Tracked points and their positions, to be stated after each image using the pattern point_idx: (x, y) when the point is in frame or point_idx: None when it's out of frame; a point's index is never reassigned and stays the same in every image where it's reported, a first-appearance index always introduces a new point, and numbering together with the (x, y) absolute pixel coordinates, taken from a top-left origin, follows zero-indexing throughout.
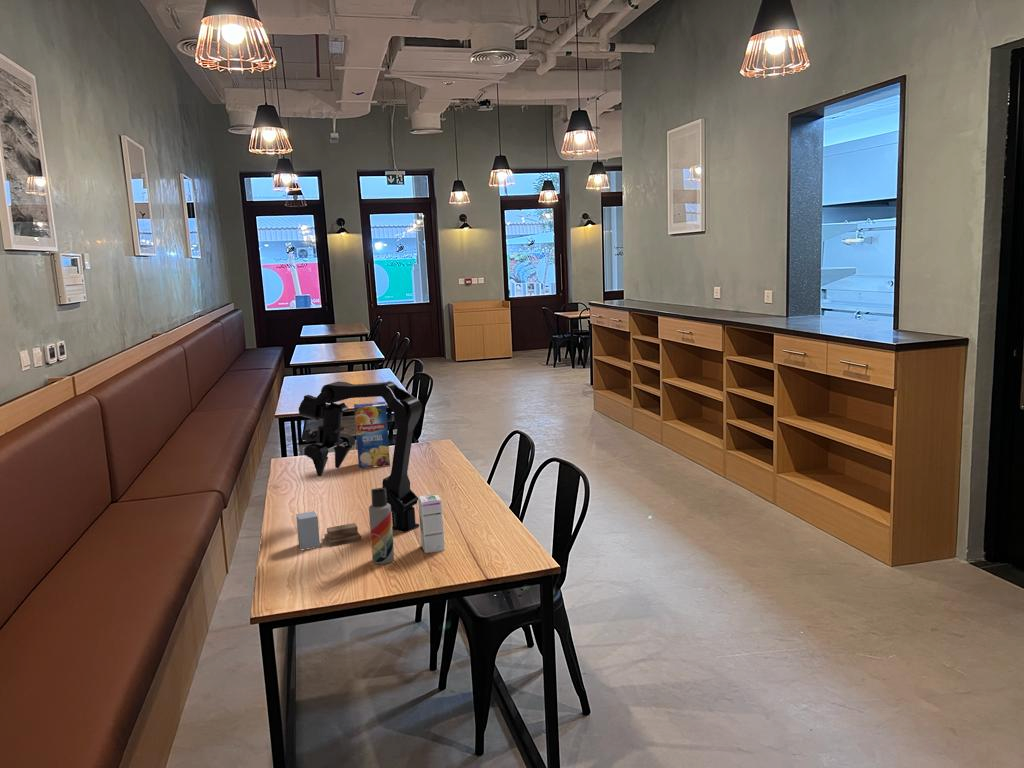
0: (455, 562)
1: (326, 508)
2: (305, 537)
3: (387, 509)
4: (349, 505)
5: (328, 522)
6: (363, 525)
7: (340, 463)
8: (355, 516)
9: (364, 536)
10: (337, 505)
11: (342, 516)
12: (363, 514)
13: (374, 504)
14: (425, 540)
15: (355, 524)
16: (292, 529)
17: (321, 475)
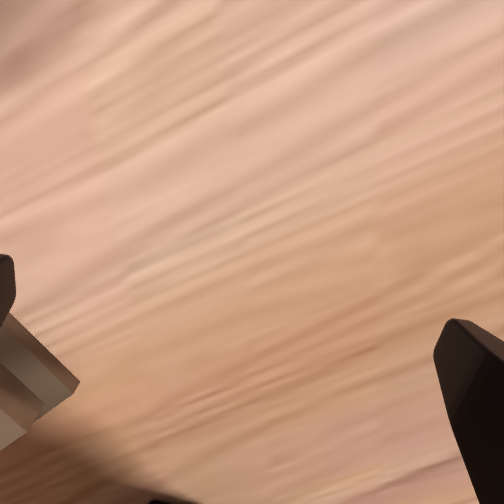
0: None
1: (438, 48)
2: None
3: None
4: (489, 177)
5: (192, 181)
6: (179, 378)
7: (458, 440)
8: (302, 289)
9: (45, 435)
10: (494, 98)
11: (297, 219)
12: (335, 317)
13: None
14: None
15: (7, 445)
16: (37, 3)
17: (5, 310)
